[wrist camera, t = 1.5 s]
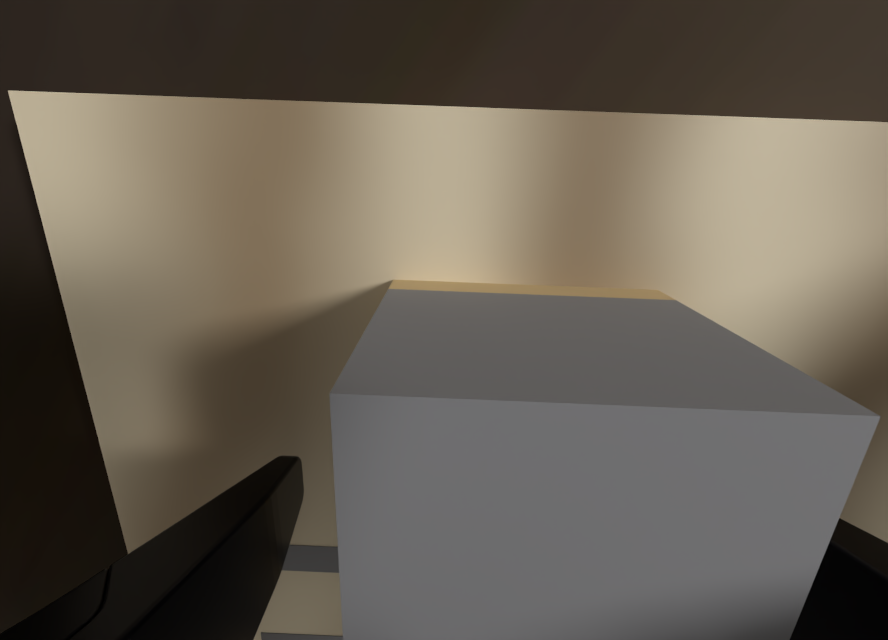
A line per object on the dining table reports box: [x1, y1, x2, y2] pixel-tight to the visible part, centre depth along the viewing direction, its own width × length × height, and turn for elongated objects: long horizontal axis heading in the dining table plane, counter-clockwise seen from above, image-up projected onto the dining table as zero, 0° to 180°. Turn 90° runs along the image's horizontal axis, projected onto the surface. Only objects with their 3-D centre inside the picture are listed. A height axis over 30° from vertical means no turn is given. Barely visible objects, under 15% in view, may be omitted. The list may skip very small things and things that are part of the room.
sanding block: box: [329, 280, 881, 640], centre depth 7 cm, size 5×8×4 cm, turn 178°
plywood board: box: [8, 91, 888, 640], centre depth 11 cm, size 18×22×1 cm
